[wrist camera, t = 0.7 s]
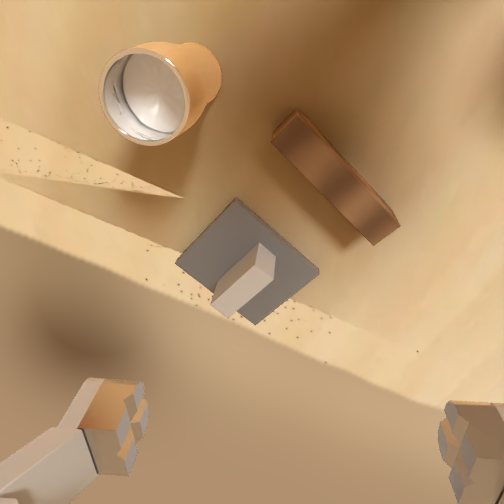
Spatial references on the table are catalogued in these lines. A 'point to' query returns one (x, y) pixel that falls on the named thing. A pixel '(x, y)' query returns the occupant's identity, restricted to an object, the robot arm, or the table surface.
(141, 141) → the beer glass
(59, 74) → the table surface
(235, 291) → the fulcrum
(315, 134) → the beam
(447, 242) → the table surface
